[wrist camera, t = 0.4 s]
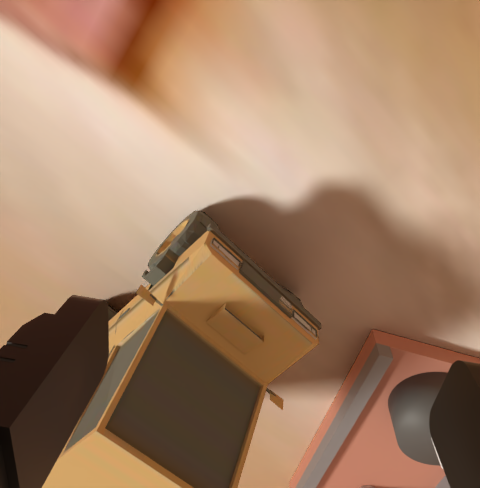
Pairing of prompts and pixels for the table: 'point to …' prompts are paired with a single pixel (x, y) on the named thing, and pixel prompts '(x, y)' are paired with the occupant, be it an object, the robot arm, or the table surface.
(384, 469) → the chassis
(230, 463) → the toy car
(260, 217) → the table surface
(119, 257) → the table surface
